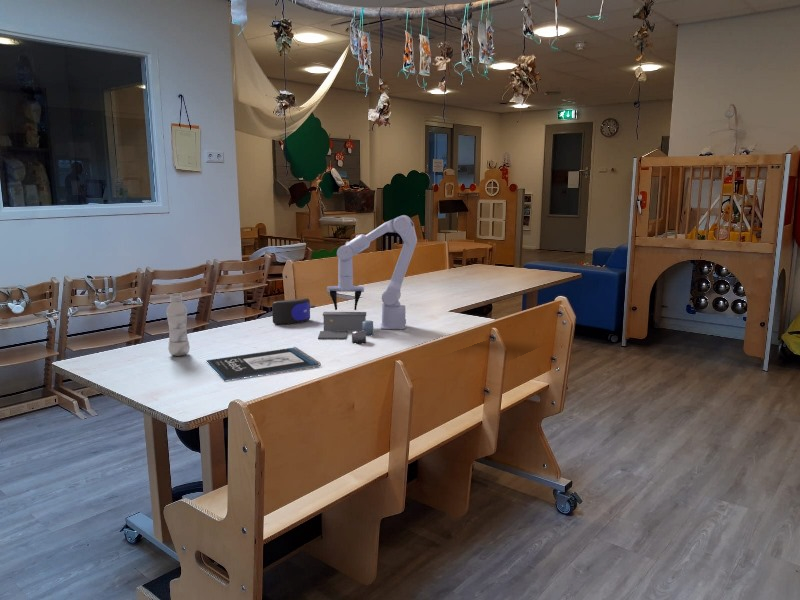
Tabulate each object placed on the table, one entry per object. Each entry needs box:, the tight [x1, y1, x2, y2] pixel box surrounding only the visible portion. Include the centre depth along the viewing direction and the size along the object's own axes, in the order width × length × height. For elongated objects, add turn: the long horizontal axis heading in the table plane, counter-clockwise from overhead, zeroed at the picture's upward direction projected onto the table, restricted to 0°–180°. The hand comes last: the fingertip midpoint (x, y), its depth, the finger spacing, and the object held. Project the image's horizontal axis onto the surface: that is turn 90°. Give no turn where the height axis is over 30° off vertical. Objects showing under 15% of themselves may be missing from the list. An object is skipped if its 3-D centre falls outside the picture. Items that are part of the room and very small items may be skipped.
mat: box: [317, 330, 348, 340], centre depth 225 cm, size 10×10×1 cm
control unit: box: [322, 311, 367, 332], centre depth 234 cm, size 17×5×7 cm, turn 92°
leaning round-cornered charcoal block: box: [271, 298, 311, 326], centre depth 244 cm, size 16×5×9 cm, turn 124°
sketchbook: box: [206, 346, 322, 382], centre depth 189 cm, size 22×30×2 cm
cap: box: [351, 330, 367, 345], centre depth 216 cm, size 5×5×4 cm
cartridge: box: [363, 320, 374, 337], centre depth 227 cm, size 4×4×5 cm
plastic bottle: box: [165, 293, 190, 357], centre depth 196 cm, size 6×7×20 cm
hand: (345, 309), depth 240 cm, fingers open, 7 cm apart
